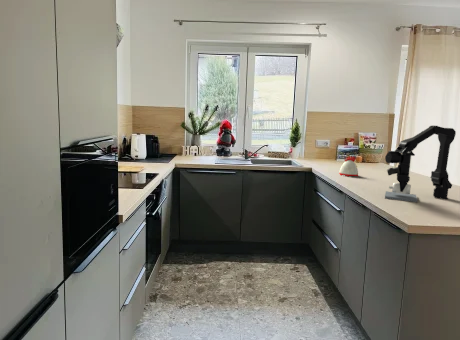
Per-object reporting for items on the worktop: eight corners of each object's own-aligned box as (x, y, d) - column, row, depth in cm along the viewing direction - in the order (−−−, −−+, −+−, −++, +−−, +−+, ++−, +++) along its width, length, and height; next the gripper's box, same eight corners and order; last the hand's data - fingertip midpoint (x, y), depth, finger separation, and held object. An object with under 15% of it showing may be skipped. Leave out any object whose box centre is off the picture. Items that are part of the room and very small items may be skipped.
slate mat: (415, 196, 209) (415, 194, 209) (417, 202, 195) (417, 199, 194) (385, 193, 215) (385, 191, 215) (384, 198, 201) (385, 196, 201)
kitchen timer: (359, 177, 274) (361, 157, 272) (340, 176, 276) (342, 156, 274) (356, 174, 288) (357, 155, 285) (338, 173, 290) (339, 154, 288)
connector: (409, 193, 205) (410, 184, 204) (410, 194, 201) (411, 185, 200) (388, 190, 209) (389, 182, 208) (388, 192, 205) (389, 183, 205)
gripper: (389, 160, 214) (386, 186, 216) (388, 163, 197) (385, 192, 199) (410, 162, 209) (406, 189, 212) (411, 165, 193) (407, 194, 195)
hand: (401, 191), depth 204 cm, fingers closed on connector, 4 cm apart
